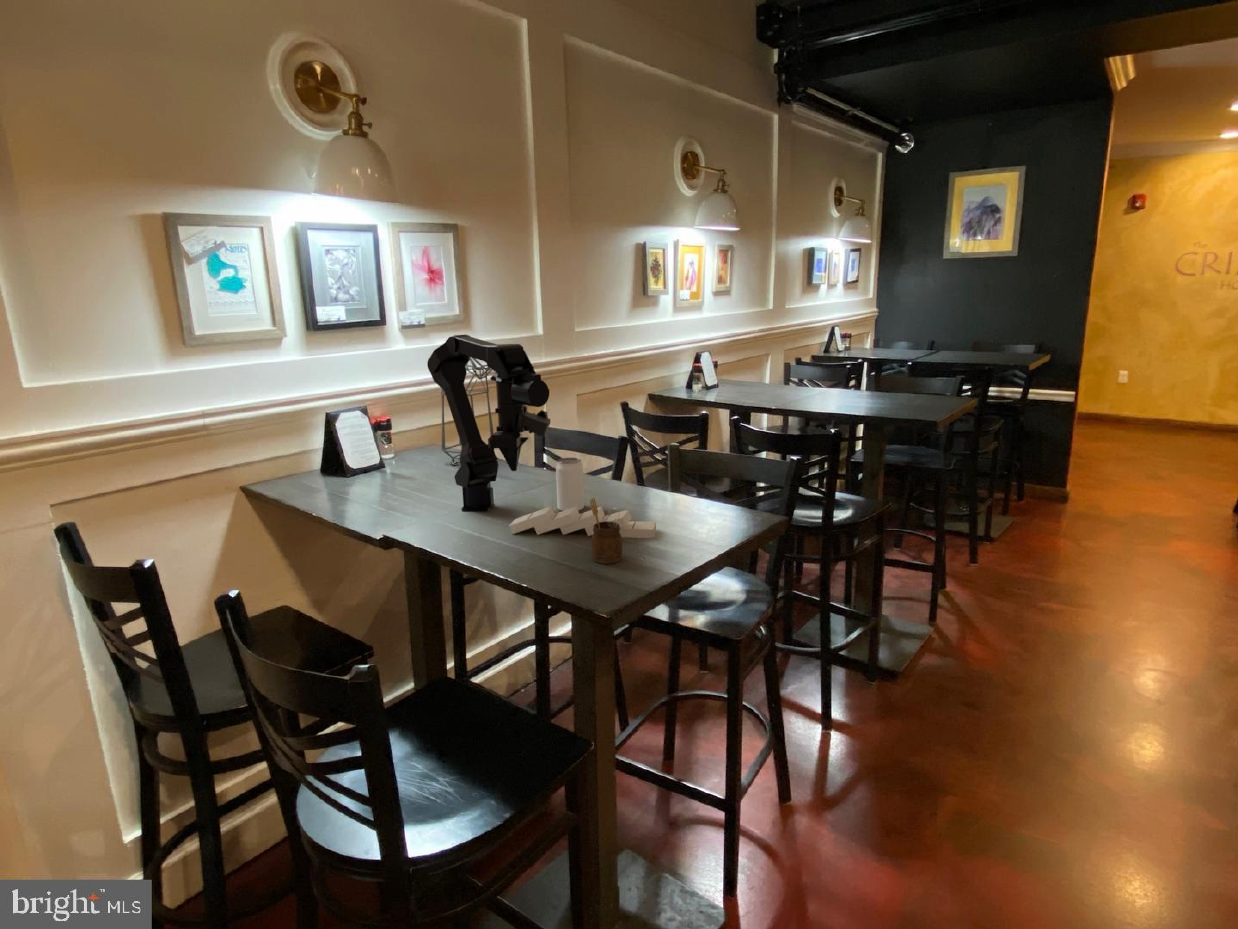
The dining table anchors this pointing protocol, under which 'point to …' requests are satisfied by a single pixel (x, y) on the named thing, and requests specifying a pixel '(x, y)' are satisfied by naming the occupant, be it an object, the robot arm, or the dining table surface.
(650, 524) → the domino
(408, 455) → the dining table surface
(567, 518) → the domino
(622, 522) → the domino
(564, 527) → the domino
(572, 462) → the can
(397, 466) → the dining table surface
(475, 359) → the geometric lantern
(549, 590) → the dining table surface
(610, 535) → the utensil holder
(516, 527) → the domino
